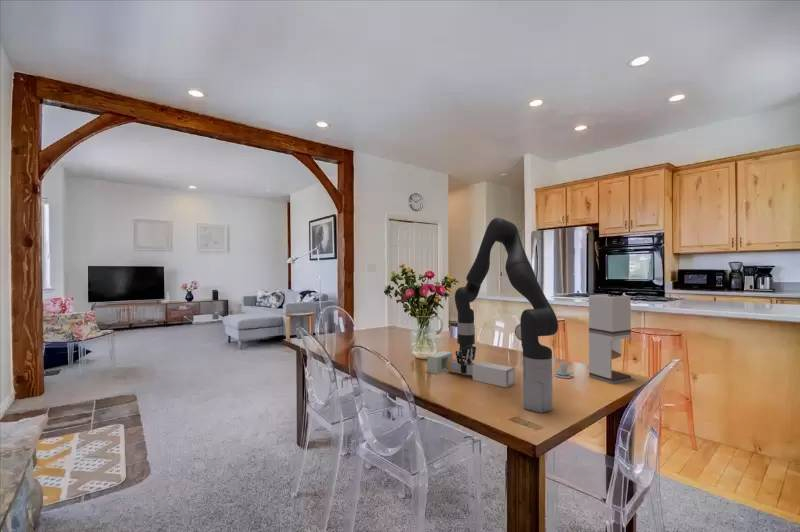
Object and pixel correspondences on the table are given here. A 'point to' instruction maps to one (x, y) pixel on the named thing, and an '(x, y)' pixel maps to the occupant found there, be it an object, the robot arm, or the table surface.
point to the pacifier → (563, 371)
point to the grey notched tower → (607, 335)
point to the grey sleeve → (493, 374)
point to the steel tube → (459, 366)
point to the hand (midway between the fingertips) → (466, 371)
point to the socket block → (438, 362)
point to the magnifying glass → (518, 332)
